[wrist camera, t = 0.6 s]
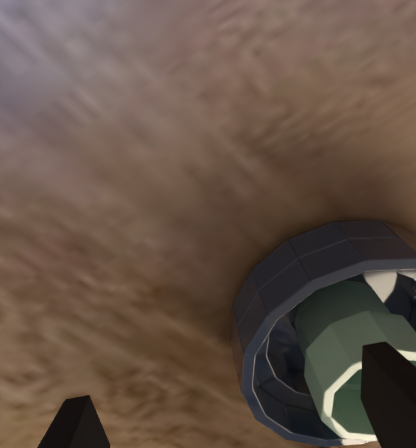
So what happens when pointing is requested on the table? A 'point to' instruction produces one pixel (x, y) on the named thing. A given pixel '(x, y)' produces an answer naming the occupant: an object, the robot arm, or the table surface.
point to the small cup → (346, 350)
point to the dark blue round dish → (288, 305)
